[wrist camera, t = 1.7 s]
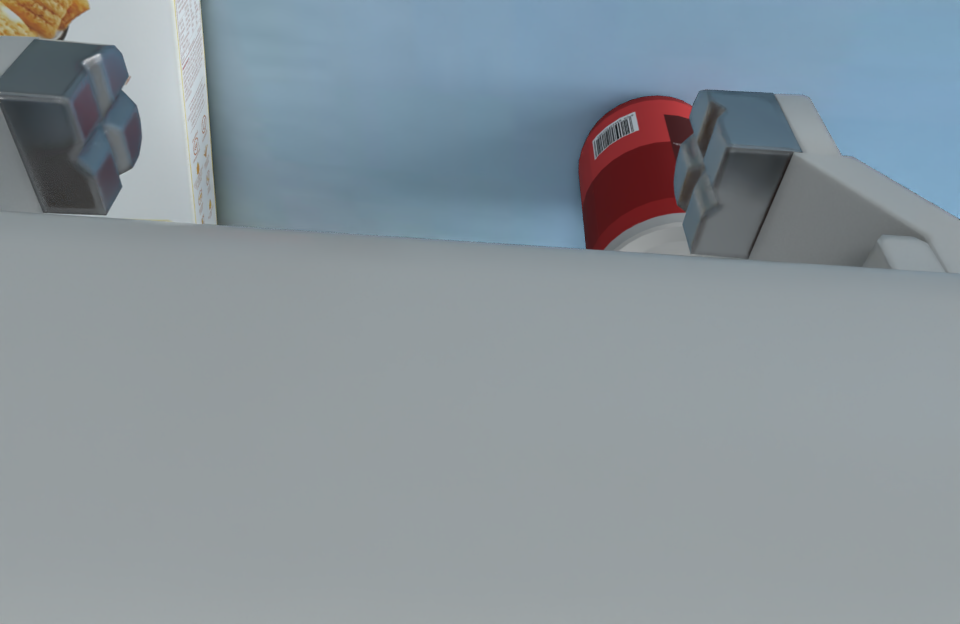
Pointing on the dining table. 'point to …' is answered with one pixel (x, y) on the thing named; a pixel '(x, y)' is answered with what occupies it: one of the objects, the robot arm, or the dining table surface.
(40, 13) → the cereal box
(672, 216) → the canned food
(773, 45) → the dining table surface
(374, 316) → the robot arm
